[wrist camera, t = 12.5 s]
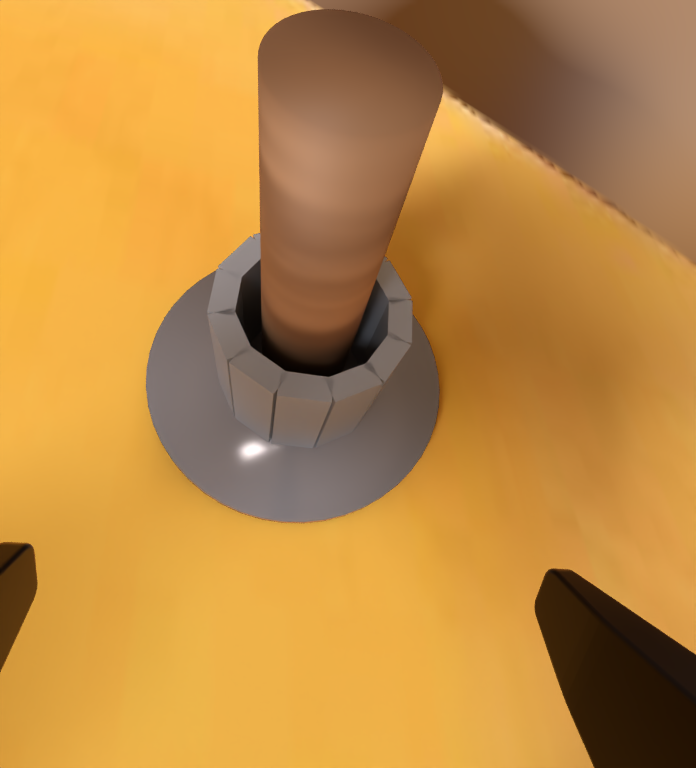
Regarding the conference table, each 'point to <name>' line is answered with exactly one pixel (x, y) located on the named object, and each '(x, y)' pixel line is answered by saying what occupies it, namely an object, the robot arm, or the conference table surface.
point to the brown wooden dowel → (333, 173)
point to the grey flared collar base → (289, 401)
